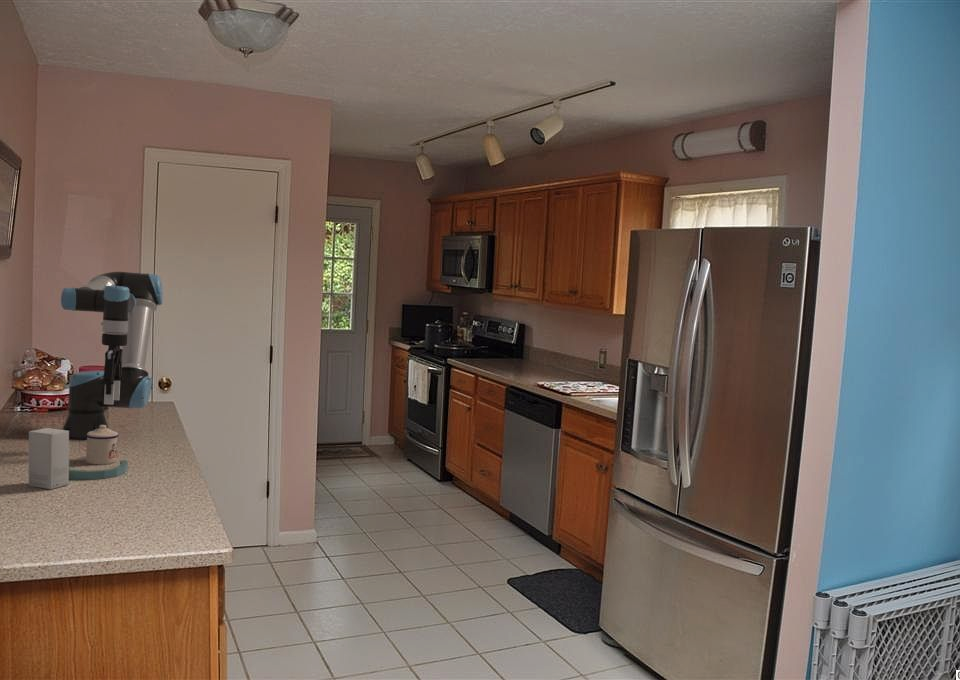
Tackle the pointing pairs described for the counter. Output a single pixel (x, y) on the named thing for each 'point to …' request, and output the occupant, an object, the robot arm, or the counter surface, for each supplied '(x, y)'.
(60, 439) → the skincare box
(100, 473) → the open curved ring
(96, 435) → the teacup with lid
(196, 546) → the counter surface
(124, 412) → the counter surface
